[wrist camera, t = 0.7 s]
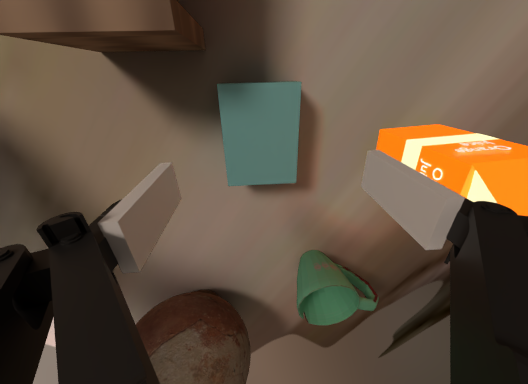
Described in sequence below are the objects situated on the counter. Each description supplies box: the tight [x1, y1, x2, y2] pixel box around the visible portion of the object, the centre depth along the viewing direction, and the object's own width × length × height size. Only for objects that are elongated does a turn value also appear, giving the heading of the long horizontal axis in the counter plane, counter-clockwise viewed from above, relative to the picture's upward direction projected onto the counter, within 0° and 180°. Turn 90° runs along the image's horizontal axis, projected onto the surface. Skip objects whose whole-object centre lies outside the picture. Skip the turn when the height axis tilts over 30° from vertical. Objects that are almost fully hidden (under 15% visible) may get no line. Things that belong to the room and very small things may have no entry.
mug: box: [297, 250, 379, 325], centre depth 38 cm, size 15×10×10 cm
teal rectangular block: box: [217, 81, 301, 186], centre depth 28 cm, size 12×9×5 cm
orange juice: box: [376, 124, 528, 216], centre depth 24 cm, size 8×9×20 cm
